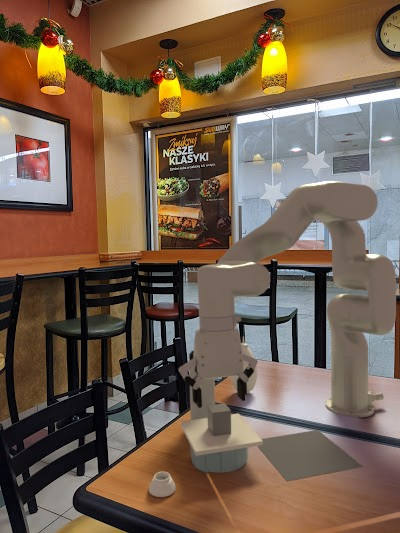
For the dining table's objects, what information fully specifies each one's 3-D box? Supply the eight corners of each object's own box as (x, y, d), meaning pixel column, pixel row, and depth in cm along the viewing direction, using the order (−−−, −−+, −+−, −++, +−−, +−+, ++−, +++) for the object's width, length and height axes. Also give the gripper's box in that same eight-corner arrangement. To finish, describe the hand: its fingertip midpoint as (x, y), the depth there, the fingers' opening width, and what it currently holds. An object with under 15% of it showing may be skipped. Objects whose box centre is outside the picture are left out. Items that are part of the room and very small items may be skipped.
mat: (317, 432, 100) (317, 429, 100) (363, 469, 83) (363, 466, 83) (252, 442, 95) (252, 440, 95) (286, 484, 79) (286, 481, 79)
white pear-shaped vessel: (261, 391, 127) (260, 334, 126) (250, 400, 121) (249, 339, 120) (238, 387, 132) (237, 331, 131) (227, 395, 125) (225, 336, 124)
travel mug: (214, 433, 101) (212, 352, 99) (188, 431, 102) (186, 351, 101) (218, 422, 107) (217, 346, 105) (193, 420, 108) (191, 345, 107)
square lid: (238, 416, 97) (238, 392, 96) (262, 444, 83) (262, 417, 83) (180, 425, 93) (179, 400, 93) (195, 455, 80) (195, 426, 79)
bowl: (236, 442, 96) (235, 419, 96) (256, 469, 84) (256, 443, 84) (186, 450, 93) (185, 426, 92) (200, 479, 81) (199, 452, 81)
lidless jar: (180, 491, 78) (165, 480, 82) (180, 476, 78) (165, 465, 81) (158, 502, 75) (144, 490, 79) (157, 487, 74) (143, 475, 78)
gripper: (248, 316, 93) (251, 390, 94) (173, 323, 88) (177, 401, 89) (262, 322, 85) (264, 402, 87) (181, 331, 81) (184, 415, 82)
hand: (220, 402), depth 88 cm, fingers open, 9 cm apart
